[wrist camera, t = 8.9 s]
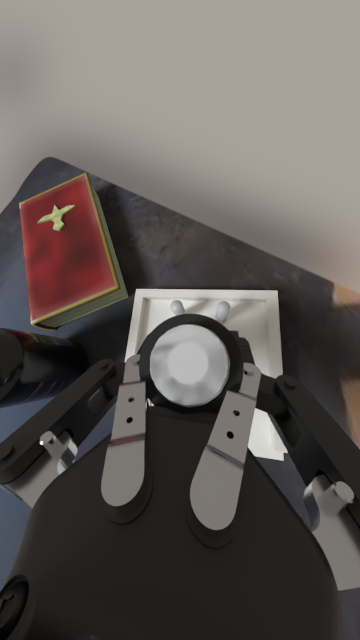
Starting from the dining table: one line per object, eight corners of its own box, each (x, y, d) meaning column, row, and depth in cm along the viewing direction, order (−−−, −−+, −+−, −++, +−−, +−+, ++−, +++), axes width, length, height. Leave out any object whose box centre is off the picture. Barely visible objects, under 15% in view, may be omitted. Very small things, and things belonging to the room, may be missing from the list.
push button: (219, 327, 18) (238, 279, 9) (245, 376, 17) (303, 383, 7) (162, 353, 18) (117, 334, 9) (182, 404, 17) (154, 450, 7)
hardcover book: (55, 332, 24) (25, 325, 20) (40, 224, 31) (14, 202, 27) (133, 299, 24) (117, 286, 20) (101, 196, 30) (85, 170, 26)
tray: (123, 429, 19) (93, 451, 14) (142, 296, 23) (125, 276, 18) (278, 454, 17) (308, 491, 12) (270, 298, 21) (290, 276, 16)
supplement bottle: (35, 360, 23) (-133, 353, 12) (77, 330, 23) (-47, 295, 12) (52, 407, 21) (-129, 454, 10) (99, 374, 21) (-26, 382, 10)
